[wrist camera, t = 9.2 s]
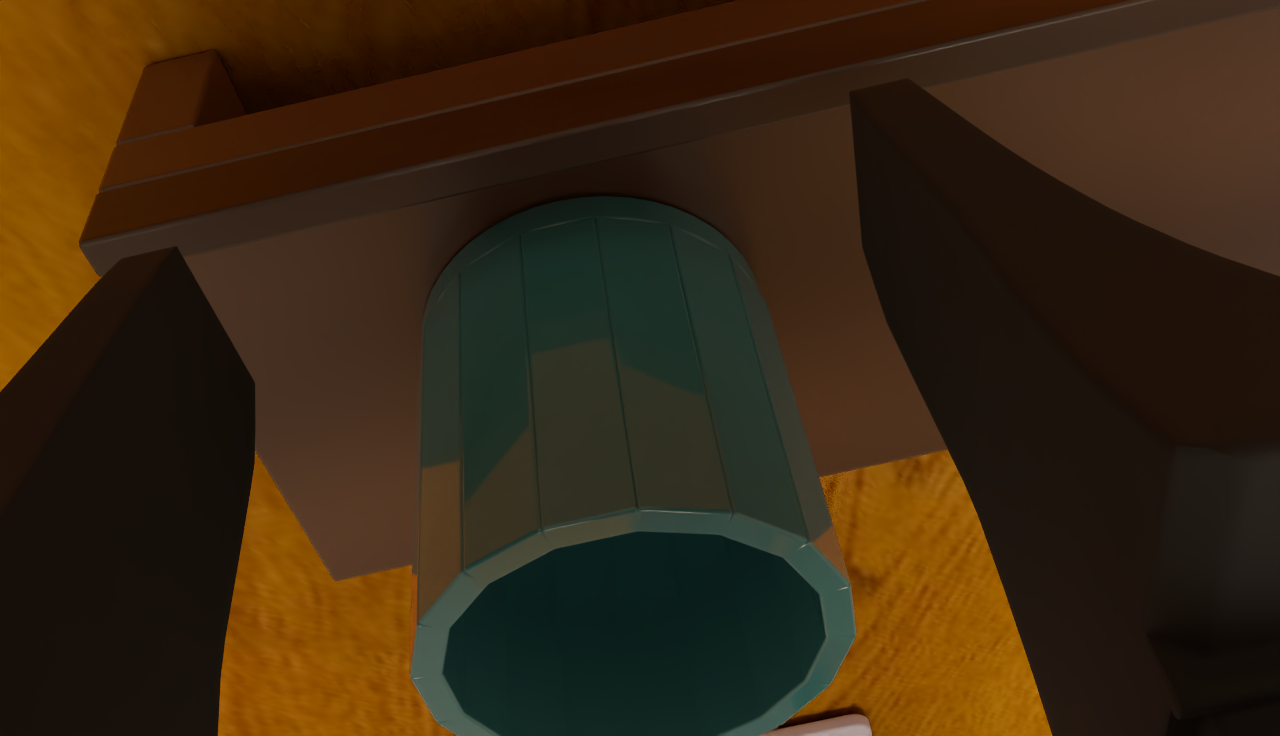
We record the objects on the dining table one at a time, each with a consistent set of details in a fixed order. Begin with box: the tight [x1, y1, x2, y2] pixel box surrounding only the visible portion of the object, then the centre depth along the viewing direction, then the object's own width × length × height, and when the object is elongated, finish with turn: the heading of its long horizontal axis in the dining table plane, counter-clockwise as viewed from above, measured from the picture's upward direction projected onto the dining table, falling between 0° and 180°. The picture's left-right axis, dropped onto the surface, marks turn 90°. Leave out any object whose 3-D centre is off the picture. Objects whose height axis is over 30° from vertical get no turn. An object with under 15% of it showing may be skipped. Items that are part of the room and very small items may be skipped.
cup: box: [409, 196, 857, 736], centre depth 17 cm, size 5×5×6 cm
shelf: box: [79, 0, 1280, 581], centre depth 20 cm, size 9×18×5 cm, turn 101°
